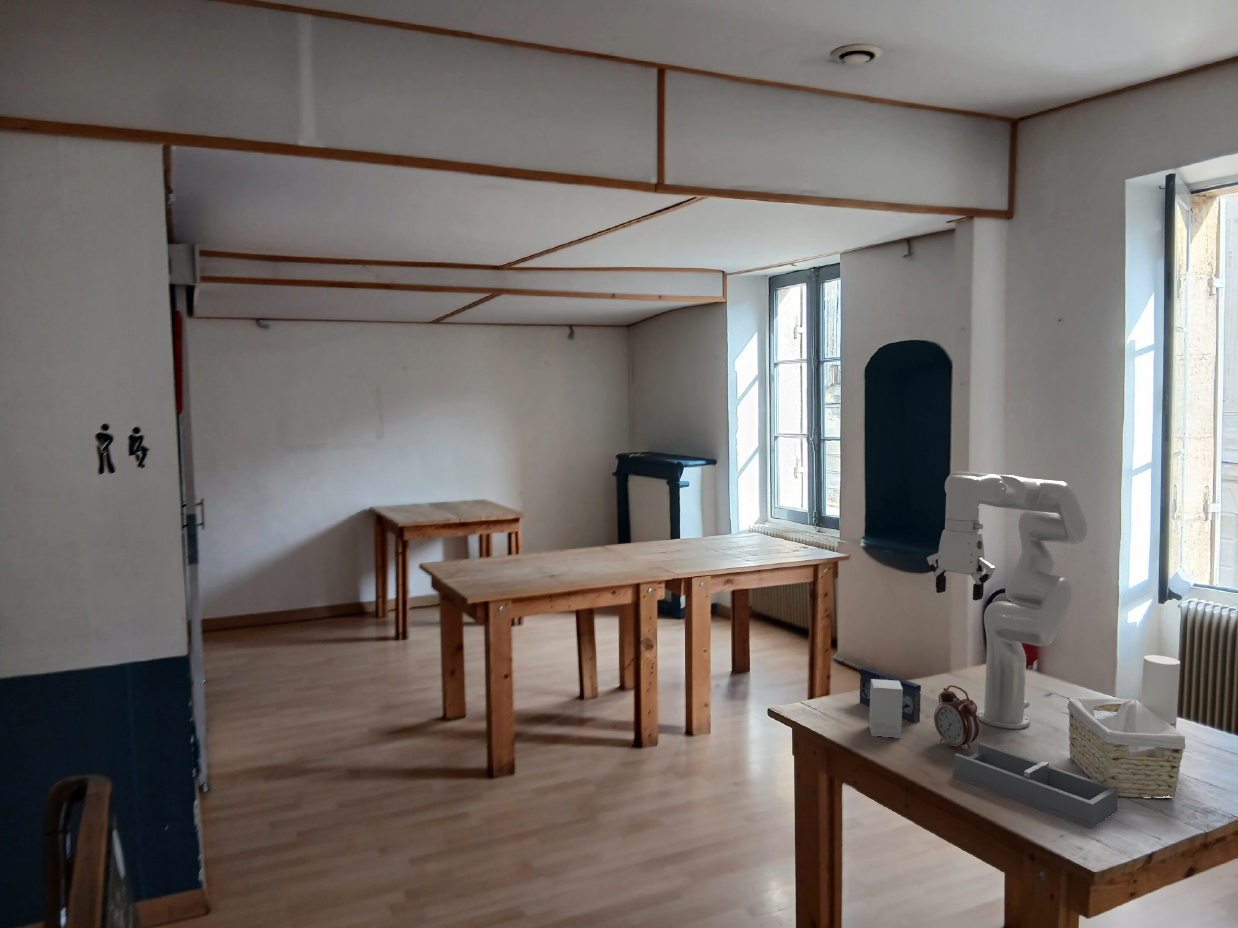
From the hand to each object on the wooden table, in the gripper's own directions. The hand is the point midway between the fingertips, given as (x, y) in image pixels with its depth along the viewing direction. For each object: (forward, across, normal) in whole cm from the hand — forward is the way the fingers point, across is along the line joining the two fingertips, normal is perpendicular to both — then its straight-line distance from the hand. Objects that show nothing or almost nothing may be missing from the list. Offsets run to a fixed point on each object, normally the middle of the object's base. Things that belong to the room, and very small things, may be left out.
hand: (958, 595), depth 215 cm
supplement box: (+37, +14, +8) cm, 40 cm away
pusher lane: (+37, -26, +12) cm, 47 cm away
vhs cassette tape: (+37, +22, -5) cm, 43 cm away
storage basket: (+37, -34, -12) cm, 52 cm away
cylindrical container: (+37, -36, -26) cm, 58 cm away
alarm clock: (+37, -2, +2) cm, 37 cm away
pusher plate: (+36, -27, +12) cm, 46 cm away
